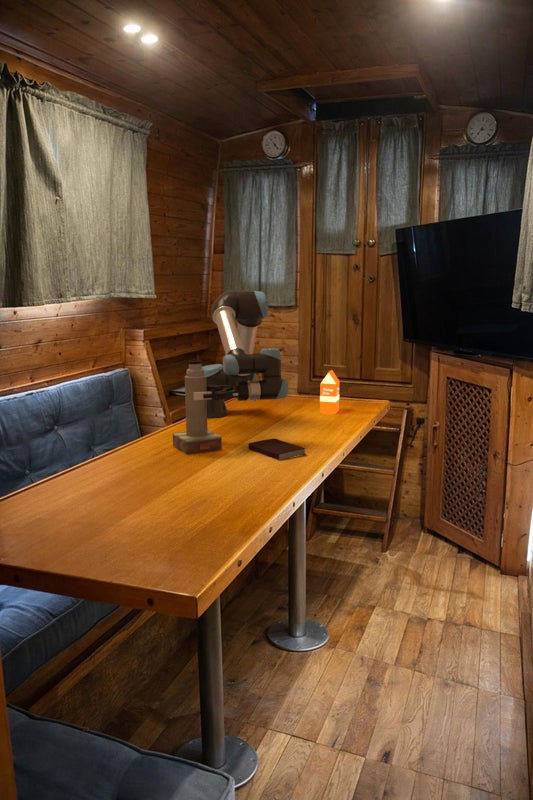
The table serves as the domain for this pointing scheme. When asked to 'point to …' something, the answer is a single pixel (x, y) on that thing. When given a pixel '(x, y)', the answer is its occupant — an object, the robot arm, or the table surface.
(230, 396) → the robot arm
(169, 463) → the table surface
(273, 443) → the book
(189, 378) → the thermos bottle
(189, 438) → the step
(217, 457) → the table surface
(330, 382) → the orange juice
